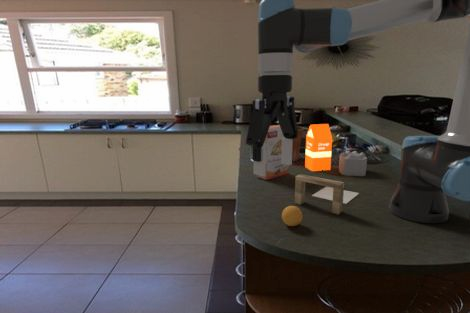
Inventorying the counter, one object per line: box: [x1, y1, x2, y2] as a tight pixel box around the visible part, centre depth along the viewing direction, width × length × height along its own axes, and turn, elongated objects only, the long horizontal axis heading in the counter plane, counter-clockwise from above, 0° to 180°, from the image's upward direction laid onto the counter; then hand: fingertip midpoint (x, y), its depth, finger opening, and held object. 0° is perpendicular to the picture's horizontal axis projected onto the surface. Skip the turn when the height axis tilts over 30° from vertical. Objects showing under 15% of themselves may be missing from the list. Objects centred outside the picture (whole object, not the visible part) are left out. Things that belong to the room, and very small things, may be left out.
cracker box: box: [256, 124, 290, 181], centre depth 130 cm, size 14×6×21 cm, turn 131°
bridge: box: [294, 173, 345, 215], centre depth 97 cm, size 3×14×9 cm, turn 50°
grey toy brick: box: [338, 150, 368, 177], centre depth 136 cm, size 10×13×9 cm
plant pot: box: [292, 125, 305, 162], centre depth 158 cm, size 16×16×16 cm
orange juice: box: [304, 123, 333, 172], centre depth 140 cm, size 8×9×20 cm
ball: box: [281, 205, 303, 227], centre depth 86 cm, size 6×6×6 cm
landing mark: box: [311, 186, 360, 205], centre depth 109 cm, size 12×12×1 cm
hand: (273, 169), depth 75 cm, fingers open, 11 cm apart
